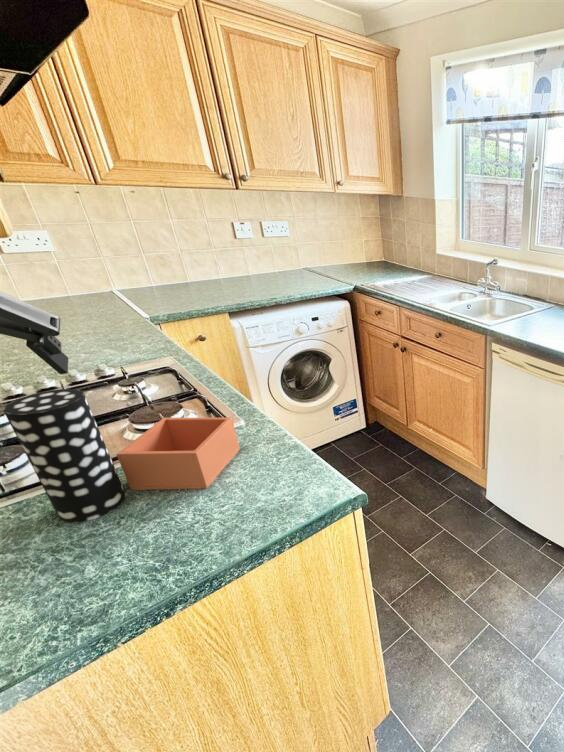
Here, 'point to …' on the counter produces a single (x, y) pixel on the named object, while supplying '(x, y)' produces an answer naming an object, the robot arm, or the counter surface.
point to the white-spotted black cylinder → (67, 453)
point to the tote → (179, 453)
